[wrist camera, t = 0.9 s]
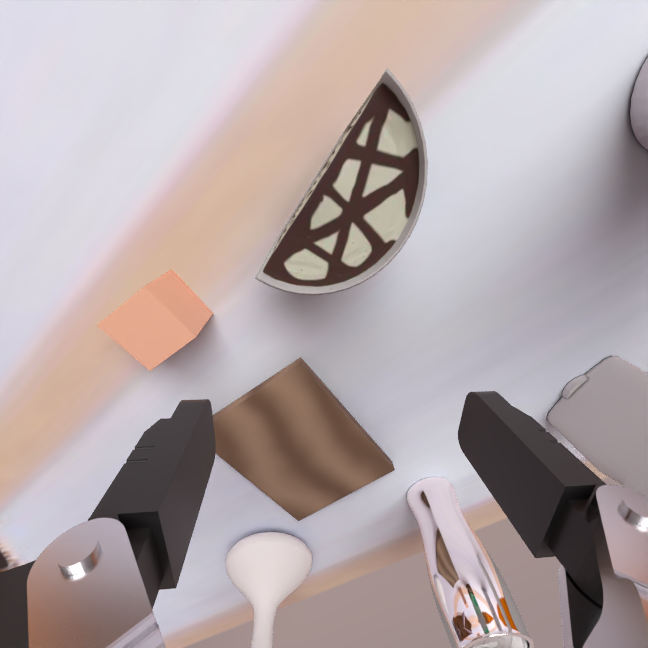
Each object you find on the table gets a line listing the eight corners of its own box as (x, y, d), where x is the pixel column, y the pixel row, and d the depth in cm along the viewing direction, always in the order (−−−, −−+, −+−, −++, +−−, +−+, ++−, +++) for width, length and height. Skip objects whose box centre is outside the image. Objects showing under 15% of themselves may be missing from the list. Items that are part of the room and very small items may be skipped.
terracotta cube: (171, 268, 26) (144, 286, 22) (213, 312, 28) (195, 337, 24) (131, 302, 27) (96, 325, 23) (174, 342, 29) (149, 371, 25)
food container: (328, 289, 28) (340, 340, 19) (269, 250, 26) (250, 285, 17) (420, 164, 24) (490, 151, 15) (358, 109, 22) (395, 56, 13)
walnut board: (300, 357, 31) (300, 363, 29) (392, 461, 37) (394, 469, 36) (196, 426, 33) (192, 434, 32) (298, 511, 40) (298, 521, 39)
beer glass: (406, 475, 38) (462, 636, 25) (461, 472, 39) (547, 630, 25) (400, 512, 41) (448, 676, 27) (451, 509, 41) (524, 669, 28)
